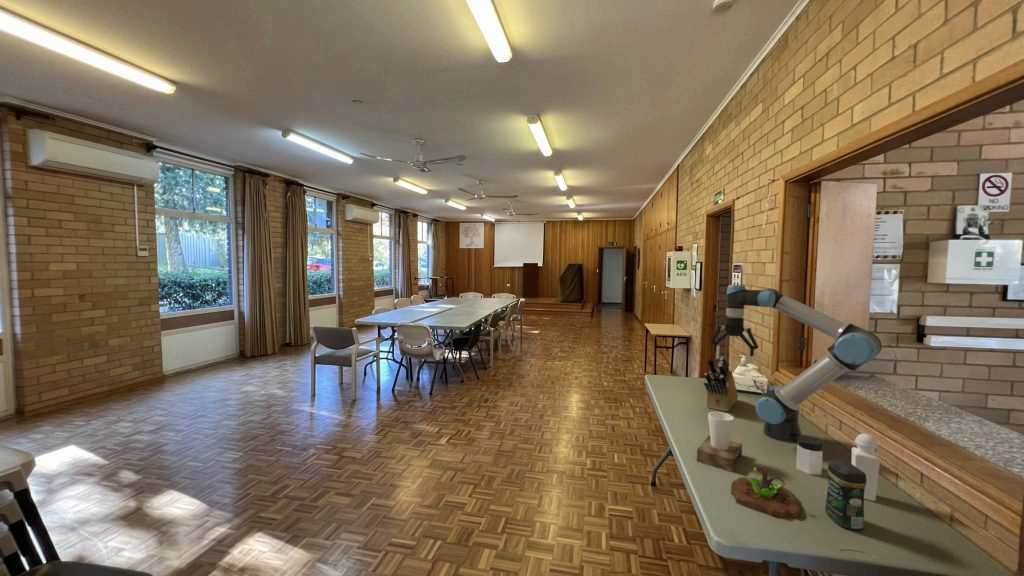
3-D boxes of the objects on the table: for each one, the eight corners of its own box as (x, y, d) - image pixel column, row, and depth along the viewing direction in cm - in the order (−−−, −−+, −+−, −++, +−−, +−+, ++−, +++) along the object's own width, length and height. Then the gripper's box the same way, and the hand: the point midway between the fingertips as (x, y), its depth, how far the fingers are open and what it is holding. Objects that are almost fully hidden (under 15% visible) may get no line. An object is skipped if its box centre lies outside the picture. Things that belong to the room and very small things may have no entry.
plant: (730, 478, 150) (731, 449, 150) (792, 492, 141) (794, 462, 140) (731, 506, 133) (732, 474, 132) (802, 525, 123) (804, 490, 123)
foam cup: (735, 452, 160) (737, 421, 159) (711, 450, 161) (712, 419, 161) (728, 442, 169) (729, 412, 168) (704, 440, 171) (705, 410, 170)
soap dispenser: (877, 502, 135) (881, 440, 133) (852, 496, 138) (856, 435, 137) (873, 493, 140) (876, 433, 139) (849, 487, 144) (852, 429, 142)
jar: (827, 472, 154) (828, 442, 153) (815, 477, 151) (817, 446, 150) (802, 462, 162) (803, 433, 161) (790, 466, 159) (791, 437, 158)
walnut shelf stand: (741, 455, 168) (742, 443, 168) (732, 472, 154) (732, 459, 154) (708, 446, 176) (709, 435, 176) (696, 461, 163) (697, 449, 162)
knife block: (701, 412, 216) (702, 356, 214) (717, 396, 243) (719, 346, 241) (723, 417, 209) (725, 360, 207) (738, 400, 236) (740, 349, 234)
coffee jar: (820, 510, 130) (823, 456, 129) (846, 512, 129) (849, 457, 128) (840, 530, 121) (844, 471, 119) (869, 532, 120) (873, 473, 119)
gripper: (704, 315, 195) (703, 357, 196) (764, 320, 179) (762, 366, 180) (708, 313, 201) (707, 355, 202) (766, 318, 184) (764, 363, 186)
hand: (733, 360), depth 191 cm, fingers open, 13 cm apart
